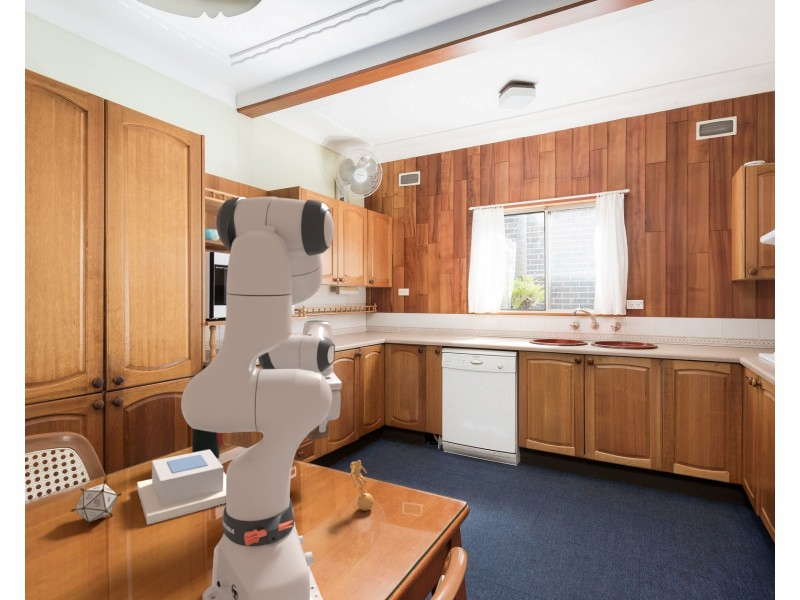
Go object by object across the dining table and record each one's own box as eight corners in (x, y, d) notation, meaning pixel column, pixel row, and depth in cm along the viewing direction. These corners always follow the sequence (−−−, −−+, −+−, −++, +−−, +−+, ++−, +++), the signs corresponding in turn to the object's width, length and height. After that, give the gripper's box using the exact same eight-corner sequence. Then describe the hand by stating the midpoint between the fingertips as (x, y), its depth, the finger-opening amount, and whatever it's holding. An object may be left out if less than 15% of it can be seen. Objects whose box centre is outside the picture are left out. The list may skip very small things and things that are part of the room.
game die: (99, 530, 101) (116, 484, 107) (117, 528, 97) (134, 480, 102) (56, 525, 95) (77, 477, 101) (73, 522, 91) (94, 472, 96)
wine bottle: (212, 466, 128) (213, 365, 127) (185, 460, 132) (186, 362, 131) (231, 456, 136) (232, 360, 135) (205, 451, 139) (205, 358, 138)
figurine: (368, 519, 101) (369, 469, 101) (343, 516, 102) (344, 466, 102) (377, 502, 109) (378, 455, 109) (355, 499, 111) (356, 452, 110)
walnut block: (328, 436, 120) (328, 415, 120) (311, 440, 117) (312, 418, 117) (320, 432, 124) (320, 411, 124) (304, 435, 121) (304, 413, 121)
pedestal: (238, 499, 109) (239, 467, 109) (147, 524, 97) (147, 488, 97) (218, 471, 125) (218, 443, 125) (137, 489, 113) (137, 458, 113)
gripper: (291, 373, 127) (290, 421, 127) (323, 386, 110) (322, 440, 111) (311, 371, 131) (310, 417, 131) (345, 383, 114) (344, 436, 114)
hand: (316, 428), depth 120 cm, fingers closed on walnut block, 5 cm apart
